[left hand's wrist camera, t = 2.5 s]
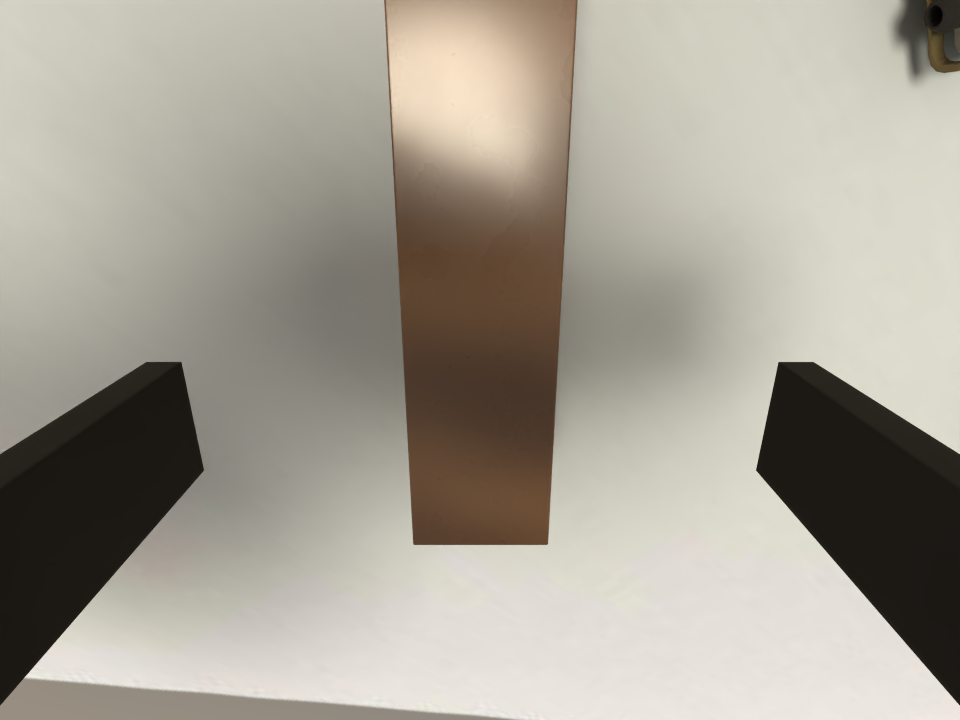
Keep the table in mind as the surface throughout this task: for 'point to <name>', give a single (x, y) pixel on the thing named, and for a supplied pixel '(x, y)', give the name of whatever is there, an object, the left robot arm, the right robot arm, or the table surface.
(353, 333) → the table surface
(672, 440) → the table surface
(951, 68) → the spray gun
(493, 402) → the bar
